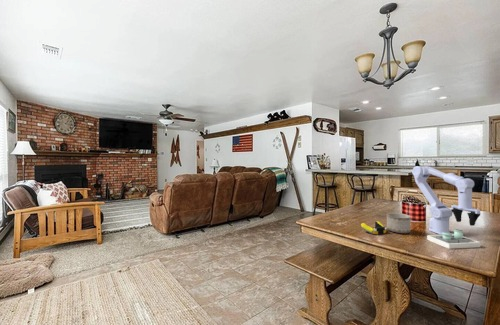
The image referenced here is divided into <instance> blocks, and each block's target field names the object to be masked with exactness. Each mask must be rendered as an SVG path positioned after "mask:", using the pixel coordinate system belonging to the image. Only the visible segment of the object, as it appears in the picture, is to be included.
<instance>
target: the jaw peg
mask: <svg viewBox="0 0 500 325" xmlns="http://www.w3.org/2000/svg"><path fill="white" fill-rule="evenodd" d="M453 234H454V238H456V239H463V237H464V230H462V229H458V228H457V229H455V228H454V229H453Z"/></svg>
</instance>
